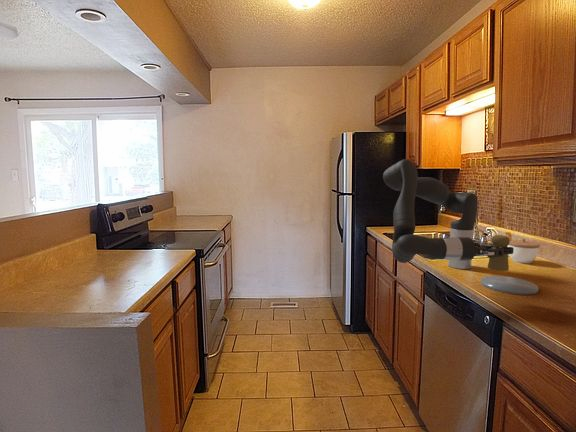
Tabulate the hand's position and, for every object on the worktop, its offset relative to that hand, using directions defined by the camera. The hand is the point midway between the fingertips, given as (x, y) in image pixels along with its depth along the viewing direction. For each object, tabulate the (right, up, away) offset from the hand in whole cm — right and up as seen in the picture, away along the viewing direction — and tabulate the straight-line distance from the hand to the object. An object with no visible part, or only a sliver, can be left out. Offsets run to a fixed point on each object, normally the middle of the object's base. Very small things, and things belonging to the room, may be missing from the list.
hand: (508, 248), depth 113 cm
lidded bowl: (+39, -11, +52) cm, 66 cm away
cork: (-3, -7, +1) cm, 7 cm away
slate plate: (+10, -15, +16) cm, 24 cm away
